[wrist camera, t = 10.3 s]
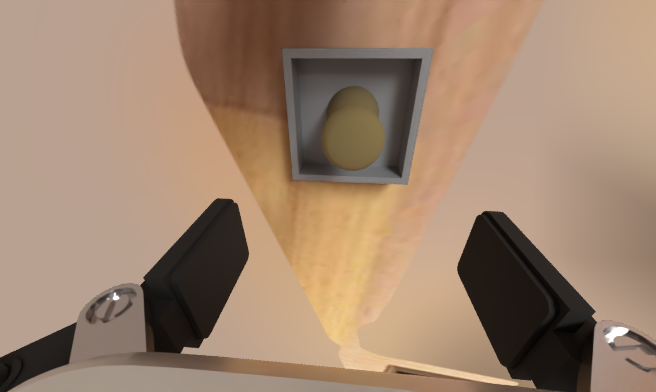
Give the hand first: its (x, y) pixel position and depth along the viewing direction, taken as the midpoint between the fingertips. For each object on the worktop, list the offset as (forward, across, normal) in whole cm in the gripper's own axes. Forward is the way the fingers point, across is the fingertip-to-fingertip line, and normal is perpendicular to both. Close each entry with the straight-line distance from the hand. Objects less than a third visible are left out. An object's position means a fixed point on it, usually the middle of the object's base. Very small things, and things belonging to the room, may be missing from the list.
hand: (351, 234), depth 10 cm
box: (+22, 0, 0) cm, 22 cm away
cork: (+21, 0, 0) cm, 21 cm away
